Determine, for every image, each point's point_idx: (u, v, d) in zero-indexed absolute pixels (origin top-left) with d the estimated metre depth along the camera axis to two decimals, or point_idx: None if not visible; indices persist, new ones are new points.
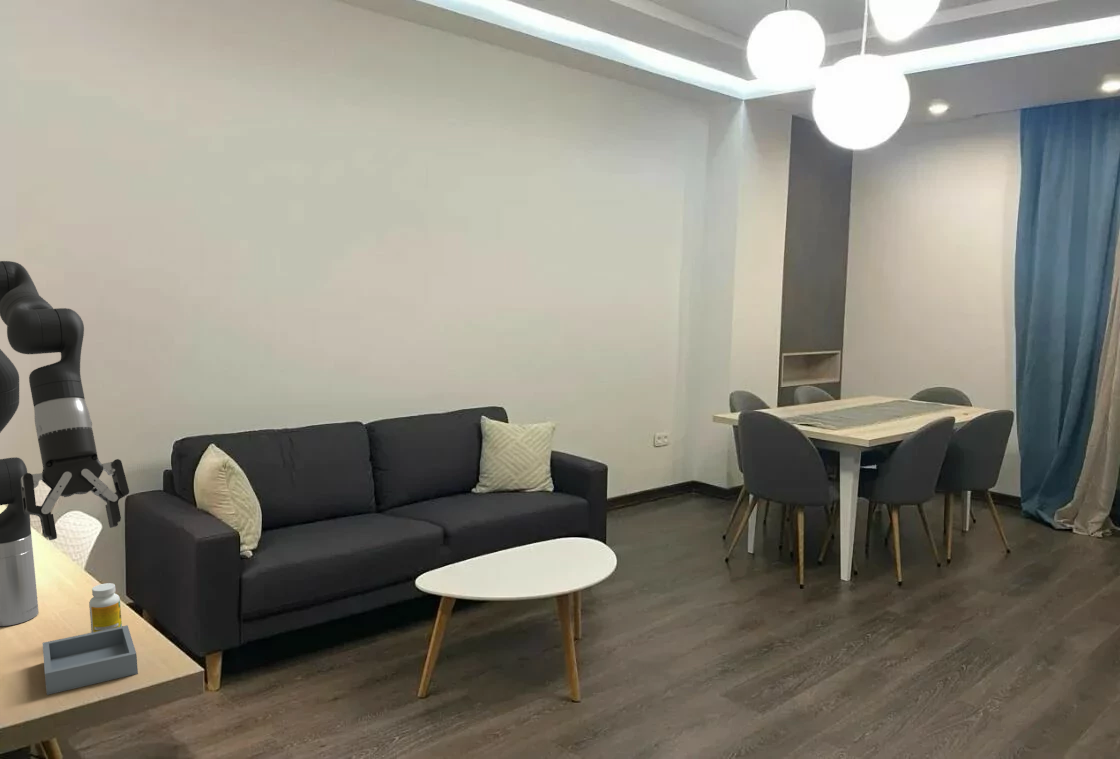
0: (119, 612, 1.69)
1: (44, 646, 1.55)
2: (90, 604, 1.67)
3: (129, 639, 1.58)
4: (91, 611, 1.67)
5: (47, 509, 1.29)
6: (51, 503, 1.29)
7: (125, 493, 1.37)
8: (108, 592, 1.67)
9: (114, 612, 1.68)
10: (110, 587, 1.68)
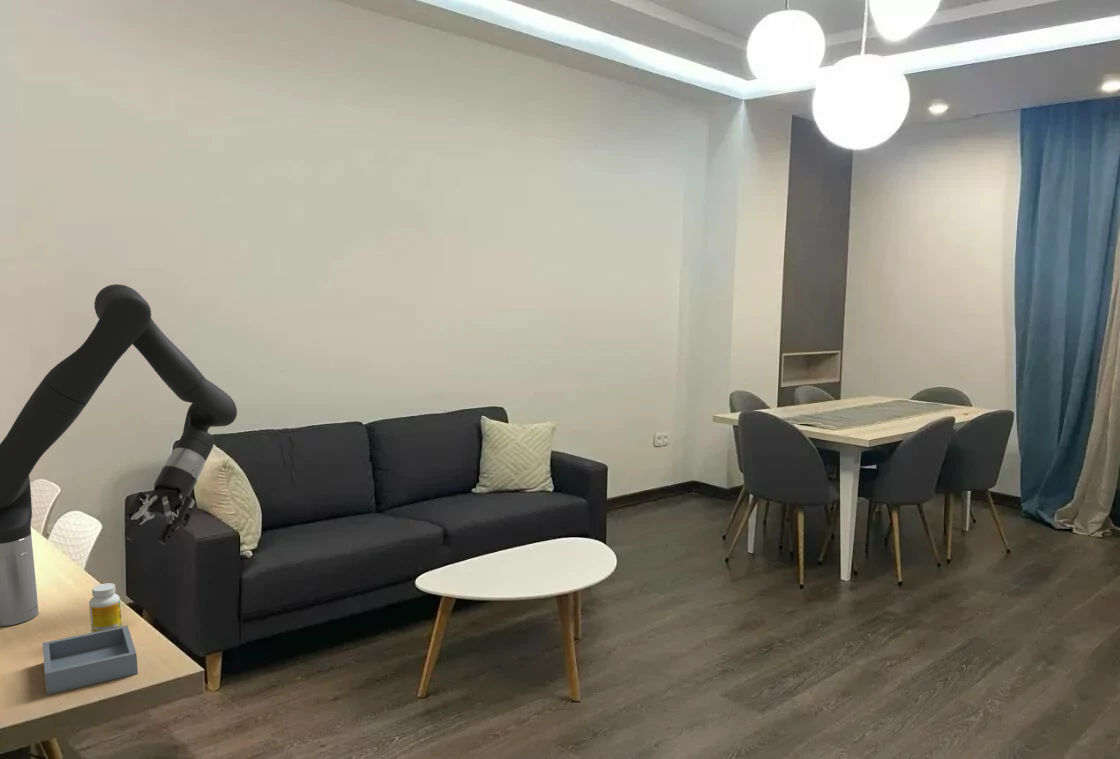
0: (119, 612, 1.69)
1: (44, 646, 1.55)
2: (90, 604, 1.67)
3: (129, 639, 1.58)
4: (91, 611, 1.67)
5: None
6: None
7: None
8: (108, 592, 1.67)
9: (114, 612, 1.68)
10: (110, 587, 1.68)
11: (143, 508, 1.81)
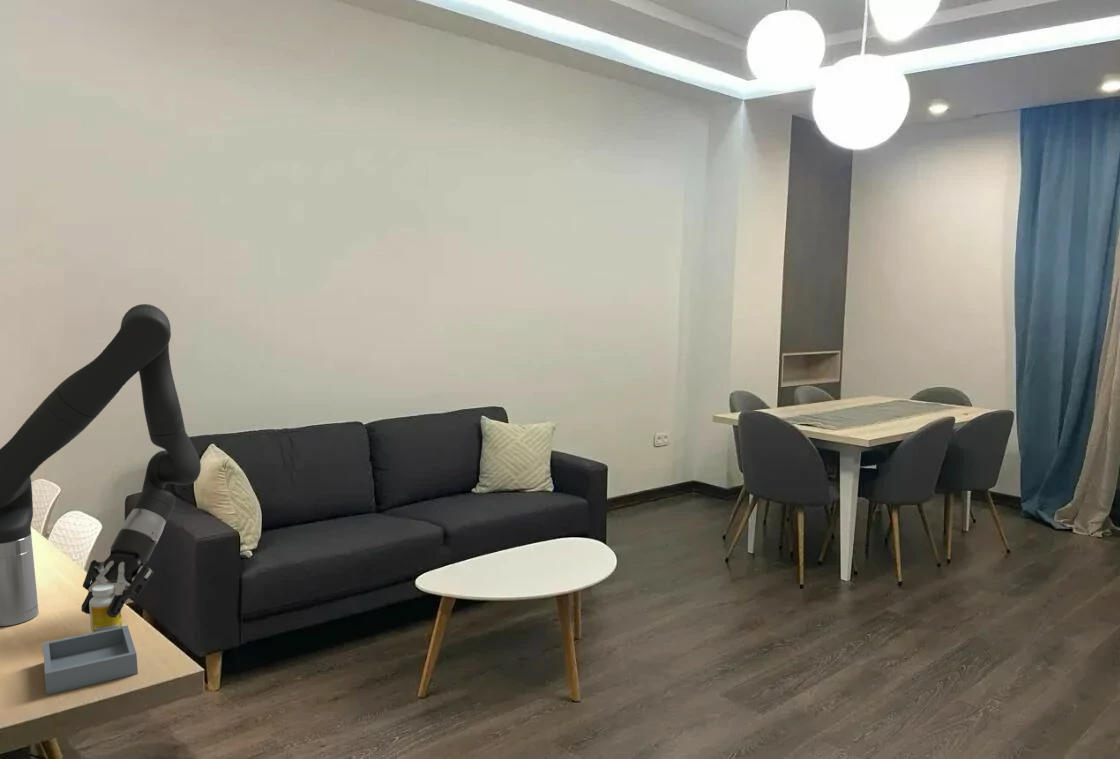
0: None
1: (44, 646, 1.55)
2: (90, 604, 1.67)
3: (129, 639, 1.58)
4: (91, 611, 1.67)
5: None
6: None
7: None
8: (108, 591, 1.67)
9: None
10: (110, 586, 1.68)
11: (100, 577, 1.71)
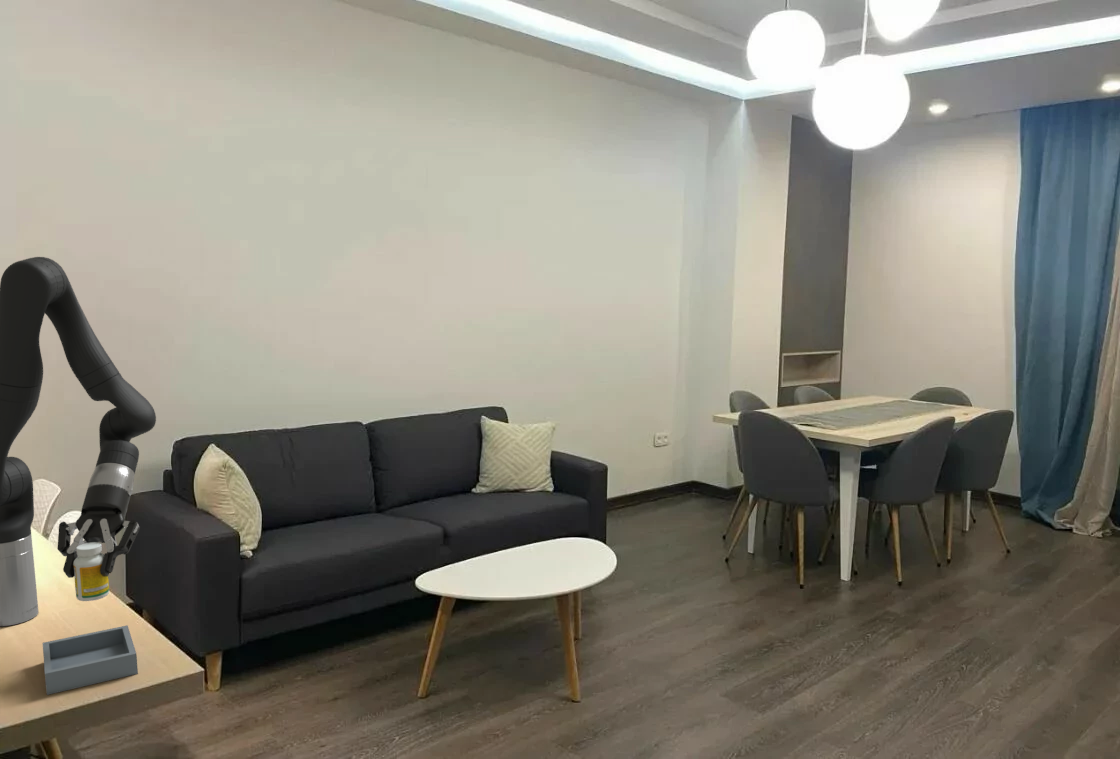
0: None
1: (44, 646, 1.55)
2: (77, 565, 1.53)
3: (129, 639, 1.58)
4: (79, 572, 1.53)
5: None
6: None
7: None
8: (97, 549, 1.55)
9: None
10: (98, 544, 1.56)
11: (79, 537, 1.57)
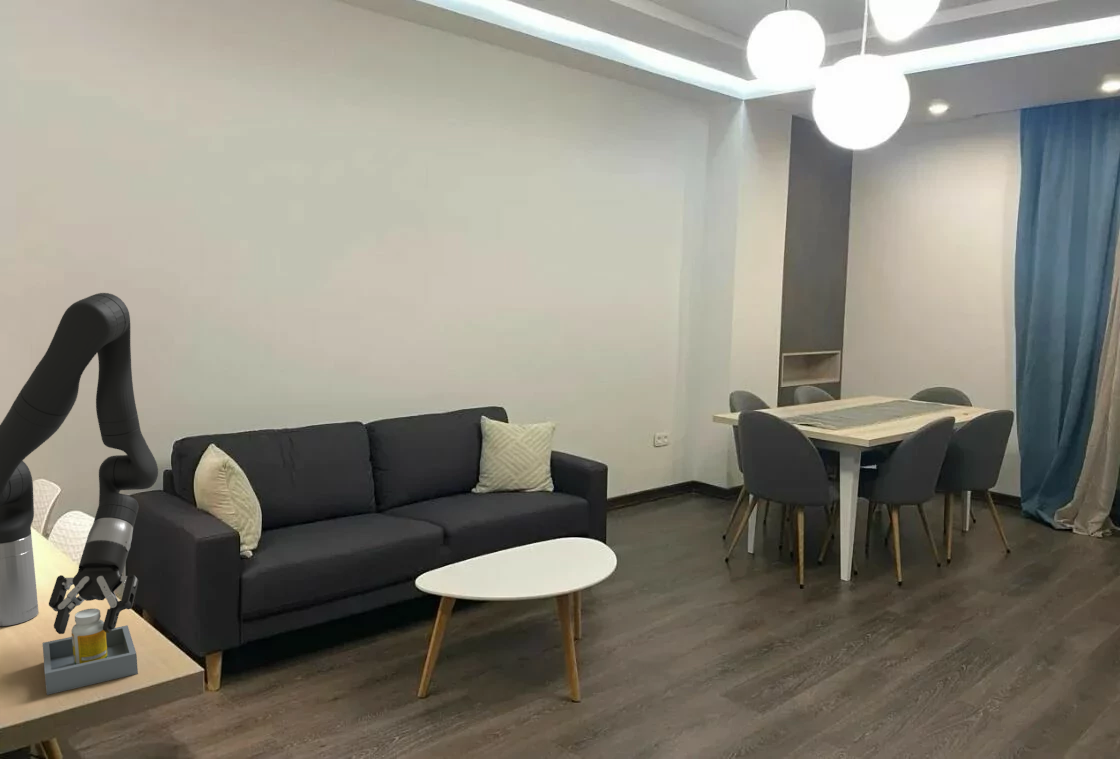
0: None
1: (44, 646, 1.55)
2: (75, 633, 1.52)
3: (129, 639, 1.58)
4: (77, 641, 1.52)
5: None
6: None
7: None
8: (96, 617, 1.53)
9: (103, 638, 1.54)
10: (96, 611, 1.54)
11: (73, 593, 1.55)
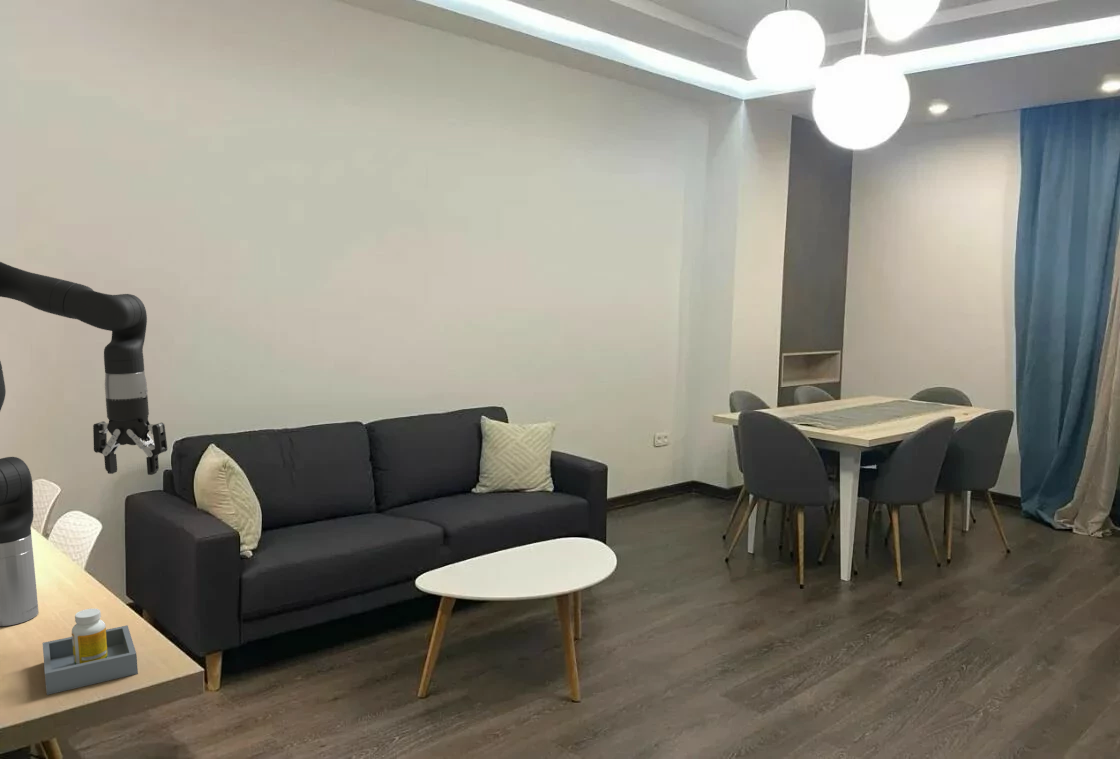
0: None
1: (44, 646, 1.55)
2: (75, 633, 1.52)
3: (129, 639, 1.58)
4: (77, 640, 1.52)
5: None
6: None
7: None
8: (96, 617, 1.53)
9: (103, 638, 1.54)
10: (96, 611, 1.54)
11: (111, 444, 1.72)
